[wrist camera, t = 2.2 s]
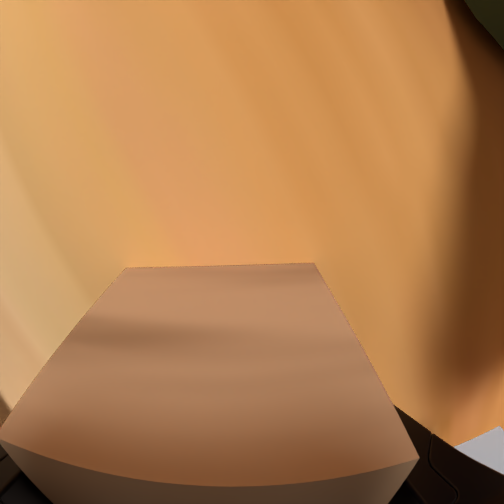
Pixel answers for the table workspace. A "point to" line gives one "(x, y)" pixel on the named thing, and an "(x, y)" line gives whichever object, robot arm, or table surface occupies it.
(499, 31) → the character mug
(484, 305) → the table surface
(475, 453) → the slate block
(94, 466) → the walnut block
